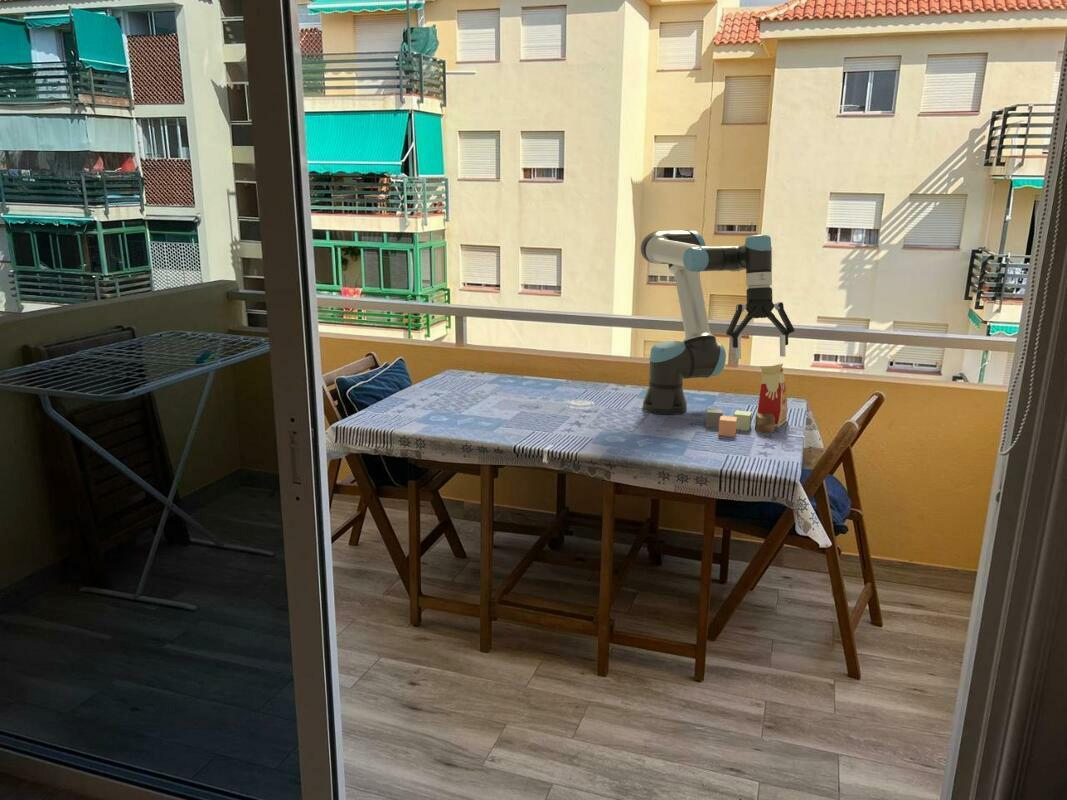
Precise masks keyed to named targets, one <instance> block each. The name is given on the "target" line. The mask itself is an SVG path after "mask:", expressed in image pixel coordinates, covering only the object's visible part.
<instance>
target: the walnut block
mask: <svg viewBox="0 0 1067 800" xmlns="http://www.w3.org/2000/svg"><path fill="white" fill-rule="evenodd" d="M755 419H756V421H755V422H754V429H755V431H756V430H757V431H756V432H757V433H758V432H761V433H762V434H774V433H775V427H776V426H775V417H774V416H773V414H761V413H757V412H756V413H755ZM761 433H760V434H761Z"/></svg>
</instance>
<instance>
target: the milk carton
mask: <svg viewBox="0 0 1067 800" xmlns="http://www.w3.org/2000/svg"><path fill="white" fill-rule="evenodd" d="M783 365H784V363H779V364H774V365H760V366H759V368H760V370H761V381H760V388H759V394H758V402H757V410H756V411H757V412H756V413H761V414H773V416H774V417H775V426H774V427H776V426H777V428H779V427H781V426H782V425H784V424H785V423H786V422H785V421H786V420H787V421H788V399H787V397H788V396H787V386H786V381H785V380H786V379H785V373H784V368H783ZM755 420H756V418H755ZM780 425H781V426H780Z"/></svg>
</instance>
